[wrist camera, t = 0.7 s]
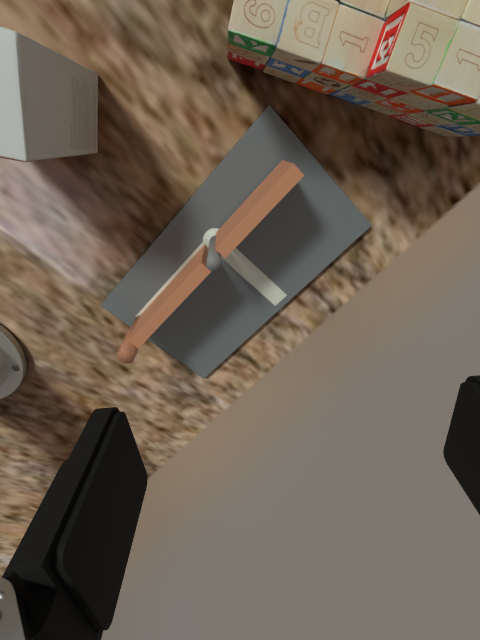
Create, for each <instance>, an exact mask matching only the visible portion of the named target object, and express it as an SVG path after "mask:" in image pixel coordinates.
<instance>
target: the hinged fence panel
mask: <svg viewBox="0 0 480 640" xmlns="http://www.w3.org/2000/svg"><path fill="white" fill-rule="evenodd" d="M303 176H304V174H303V173H302V172H301V171H300V170H299V169H298V168H297V167H296V165H295V164H294V163H290V162H287V161H284V160H282V161H281V162H280V163H279V164H278V165H277V166H276V167H275V168H274V169H273V170H272V172H271V173H270V174H269V175H268V176H267V177H266V178H265V179H264V180H263V181H262V183H261V184H260V185H259V186H258V187H257V188H256V189H255V190H254V191H253V192H252V194H251V195H250V196H249V197H248V198H247V199H246V200H245V201H244V202H243V203H242V205H241V206H240V207H239V208H238V209H237V210H236V211H235V212H234V213H233V214H232V216H231V217H230V218H229V219H228V220H227V221H226V222H225V223H224V224H223V225H222V227H221V228H220V229H219V230H218V231H217V232H216V235H214V236H212V237H211V238H210V242H209V248H208V255H207V261H206V266H207V268H208V269H209V270H212V271H216V270H218V269H219V268H220V265H221V255H222V256H223V257H224V258H226V257H227V256H228V255H229V254H230V253H231V252H232V251H233V250H234V249H235V248H236V247H237V246H238V245H239V244H240V243H241V241H242V240H243V239H244V238H245V237H246V236H247V235H248V234H249V233H250V232H251V231H252V230H253V229H254V228H255V227H256V226H257V225H258V224H259V223H260V222H261V220H262V219H263V218H264V217H265V216H266V215H267V214H268V213H269V212H270V211H271V210H272V209H273V208H274V207H275V206H276V205H277V204H278V203H279V202H280V201H281V199H282V198H283V197H284V196H285V195H286V194H287V193H288V192H289V191H290V190H291V189H292V188H293V187H294V186H295V185H296V184H297V183H298V182H299V181H300V180H301V178H302V177H303Z"/></svg>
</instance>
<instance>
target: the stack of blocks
mask: <svg viewBox="0 0 480 640" xmlns="http://www.w3.org/2000/svg"><path fill="white" fill-rule="evenodd" d="M227 50H228V53H227V58H228V59H229V60H232V61H235V62H239V63H242V64H245V65H247V66H251V67H253V68H257V69H259V70H263V72H264V73H267V74H270V75H272V76H275V77H278V78H281V79H284V80H287V81H290V82H293V83H296V84H298V85H301V86H303V87H306V88H309V89H312V90H315V91H317V92H320V93H323V94H329V95H332V96H335V97H338V98H340V99H343V100H346V101H349V102H351V103H354V104H358V105H361V106H364V107H366V108H369V109H372V110H375V111H378V112H381V113H383V114H386V115H389V116H390V117H392V118H395V119H397V120H400V121H403V122H406V123H409V124H411V125H414V126H417V127H419V128H422V129H424V130H427V131H430V132H432V133H435V134H438V135H441V136H444V137H466V136H480V0H234V2H233V7H232V12H231V18H230V22H229V27H228V48H227Z"/></svg>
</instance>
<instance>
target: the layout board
mask: <svg viewBox="0 0 480 640" xmlns="http://www.w3.org/2000/svg"><path fill="white" fill-rule="evenodd" d="M282 160H284V161H287V162H290V163H294V164H295V165H296V167H297V168H298V169H299V170H300V171H301V172H302V173H303V174H304V176H303V177H302V178H301V180H300V181H299V182H298V183H297V184H296V185H295V186H294V187H293V188H292V189H291V190H290V191H289V192H288V193H287V194H286V195H285V196H284V197H283V198H282V199H281V201H280V202H279V203H278V204H277V205H276V206H275V207H274V208H273V209H272V210H271V211H270V212H269V213H268V214H267V215H266V216H265V217H264V218H263V219H262V220H261V222H260V223H259V224H258V225H257V226H256V227H255V228H254V229H253V230H252V231H251V232H250V233H249V234H248V235H247V236H246V237H245V238H244V239H243V240H242V241H241V243H240V244H239V245H238V246H237V247H236V248H235V249H234V250H233V251H232V252H231V253H230V254H229V255H228V256H227V257H226V258H224V257H223V256H222V255H221V265H220V268H219V269H218V270H216V271H211V273H210V274H209V275H208V276H207V277H206V278H205V279H204V280H203V281H202V282H201V283H200V284H199V285H198V286H197V287H196V288H195V289H194V291H193V292H192V293H191V294H190V295H189V296H188V297H187V298H186V299H185V300H184V301H183V302H182V303H181V304H180V305H179V306H178V307H177V308H176V309H175V310H174V312H173V313H172V314H171V315H170V316H169V317H168V318H167V319H166V320H165V321H164V322H163V323H162V324H161V325H160V326H159V327H158V328H157V329H156V330H155V332H154V333H153V334H152V335H151V336H150V337H149V338H148V340H150V341H151V342H153V343H154V344H155V345H157V346H158V347H160V348H161V349H162V350H164V351H165V352H167V353H168V354H170V355H171V356H172V357H174V358H175V359H177V360H178V361H179V362H181V363H182V364H184V365H185V366H186V367H188V368H189V369H191V370H192V371H194V372H195V373H196V374H198V375H199V376H201V377H202V378H203V379H204V378H205V377H206V376H207V375H208V374H210V373H211V372H212V371H213V370H214V369H215V368H216V367H217V366H218V365H219V364H220V363H222V362H223V361H224V360H225V359H226V358H227V357H228V356H229V355H230V354H231V353H233V352H234V351H235V350H236V349H237V348H238V347H239V346H240V345H241V344H242V343H243V342H245V341H246V340H247V339H248V338H249V337H250V336H251V335H252V334H253V333H254V332H256V331H257V330H258V329H259V328H260V327H261V326H262V325H263V324H264V323H265V322H266V321H268V320H269V319H270V318H271V317H272V316H273V315H274V314H275V313H276V312H277V311H279V310H280V309H281V308H282V307H283V306H284V305H285V304H286V303H287V302H288V301H289V300H291V299H292V298H293V297H294V296H295V295H296V294H297V293H298V292H299V291H300V290H302V289H303V288H304V287H305V286H306V285H307V284H308V283H309V282H310V281H311V280H312V279H314V278H315V277H316V276H317V275H318V274H319V273H320V272H321V271H322V270H323V269H325V268H326V267H327V266H328V265H329V264H330V263H331V262H332V261H333V260H334V259H335V258H337V257H338V256H339V255H340V254H341V253H342V252H343V251H344V250H345V249H346V248H348V247H349V246H350V245H351V244H352V243H353V242H354V241H355V240H356V239H357V238H358V237H360V236H361V235H362V234H363V233H364V232H365V231H366V230H367V229H368V228H369V227H371V226H372V225H371V224H370V223H369V222H368V220H367V219H366V218H365V217H364V216H363V214H362V213H361V212H360V211H359V210H358V209H357V207H356V206H355V205H354V204H353V203H352V202H351V200H350V199H349V198H348V197H347V196H346V194H345V193H344V192H343V191H342V190H341V189H340V187H339V186H338V185H337V184H336V183H335V182H334V180H333V179H332V178H331V177H330V176H329V174H328V173H327V172H326V171H325V170H324V169H323V167H322V166H321V165H320V164H319V163H318V161H317V160H316V159H315V158H314V157H313V156H312V154H311V153H310V152H309V151H308V150H307V149H306V147H305V146H304V145H303V144H302V143H301V141H300V140H299V139H298V138H297V137H296V136H295V134H294V133H293V132H292V131H291V130H290V129H289V127H288V126H287V125H286V124H285V123H284V121H283V120H282V119H281V118H280V117H279V116H278V114H277V113H276V112H275V111H274V110H273V109H272V107H271V106H270V105H269V106H268V107H267V108H266V109H265V110H264V111H263V113H262V114H261V115H260V116H259V117H258V119H257V120H256V121H255V122H254V123H253V125H252V126H251V127H250V128H249V129H248V130H247V132H246V133H245V134H244V135H243V136H242V138H241V139H240V140H239V141H238V142H237V144H236V145H235V146H234V147H233V148H232V149H231V151H230V152H229V153H228V154H227V155H226V157H225V158H224V159H223V160H222V161H221V163H220V164H219V165H218V166H217V167H216V169H215V170H214V171H213V172H212V173H211V174H210V176H209V177H208V178H207V179H206V180H205V182H204V183H203V184H202V185H201V186H200V188H199V189H198V190H197V191H196V192H195V193H194V195H193V196H192V197H191V198H190V199H189V201H188V202H187V203H186V204H185V205H184V207H183V208H182V209H181V210H180V211H179V212H178V214H177V215H176V216H175V217H174V218H173V220H172V221H171V222H170V223H169V224H168V226H167V227H166V228H165V229H164V230H163V231H162V233H161V234H160V235H159V236H158V237H157V239H156V240H155V241H154V242H153V243H152V245H151V246H150V247H149V248H148V249H147V250H146V252H145V253H144V254H143V255H142V256H141V258H140V259H139V260H138V261H137V262H136V264H135V265H134V266H133V267H132V268H131V269H130V271H129V272H128V273H127V274H126V275H125V277H124V278H123V279H122V280H121V281H120V283H119V284H118V285H117V286H116V287H115V288H114V290H113V291H112V292H111V293H110V294H109V296H108V297H107V298H106V299H105V300H104V302H103V303H102V304H101V305H100V306H102V307H103V308H105V309H106V310H107V311H109V312H110V313H112V314H113V315H114V316H116V317H117V318H119V319H120V320H122V321H123V322H124V323H126V324H127V325H129V326H130V327H131V326H132V324H133V322H134V320H135V318H136V317H137V316H138V315H141V314H142V313H143V312H144V311H145V309H146V308H147V307H148V306H149V305H150V304H151V303H152V302H153V301H154V300H155V298H156V297H157V296H158V295H159V294H160V293H161V292H162V291H163V290H164V289H165V287H166V286H167V285H168V284H169V283H170V282H171V281H172V280H173V279H174V278H175V276H176V275H177V274H178V273H179V272H180V271H181V270H182V269H183V268H184V267H185V265H186V264H187V263H188V262H189V261H190V260H191V259H192V258H193V257H194V256H195V254H196V253H197V252H198V251H199V250H200V249H201V248H202V247H203V246H204V245H206V246H207V247H208V248H209V242H210V238H211V237H212V236H214V235H216V232H217V231H218V230H219V229H220V228H221V227H222V225H223V224H224V223H225V222H226V221H227V220H228V219H229V218H230V217H231V216H232V214H233V213H234V212H235V211H236V210H237V209H238V208H239V207H240V206H241V205H242V203H243V202H244V201H245V200H246V199H247V198H248V197H249V196H250V195H251V194H252V192H253V191H254V190H255V189H256V188H257V187H258V186H259V185H260V184H261V183H262V181H263V180H264V179H265V178H266V177H267V176H268V175H269V174H270V173H271V172H272V170H273V169H274V168H275V167H276V166H277V165H278V164H279V163H280V162H281V161H282Z"/></svg>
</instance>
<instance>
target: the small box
mask: <svg viewBox="0 0 480 640" xmlns="http://www.w3.org/2000/svg"><path fill="white" fill-rule="evenodd" d="M97 153H98V74H97V73H96V72H94V71H92V70H90V69H88V68H86V67H84V66H82V65H80V64H78V63H76V62H75V61H73V60H71V59H69V58H67V57H65V56H63V55H61V54H59V53H57V52H55V51H53V50H51V49H49V48H48V47H46V46H44V45H42V44H40V43H38V42H36V41H34V40H32V39H30V38H28V37H26V36H24V35H22V34H20V33H18V32H16V31H14V30H11V29H7V28H3V27H0V157H1V158H6V159H11V160H17V161H22V162H29V161H36V160H45V159H53V158H61V157H70V156H78V155H88V154H97Z"/></svg>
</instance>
